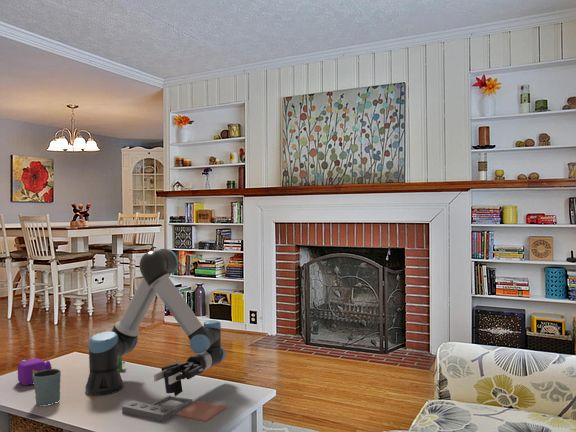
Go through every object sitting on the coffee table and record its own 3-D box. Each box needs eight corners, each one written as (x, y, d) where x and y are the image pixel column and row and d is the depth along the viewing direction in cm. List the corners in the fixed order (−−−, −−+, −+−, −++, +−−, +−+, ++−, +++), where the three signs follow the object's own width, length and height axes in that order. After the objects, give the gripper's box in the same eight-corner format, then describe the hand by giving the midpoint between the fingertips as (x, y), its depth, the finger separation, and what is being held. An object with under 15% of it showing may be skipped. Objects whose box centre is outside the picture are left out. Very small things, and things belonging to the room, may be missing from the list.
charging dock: (122, 412, 185) (121, 405, 185) (157, 395, 202) (157, 388, 202) (163, 422, 176) (163, 414, 176) (196, 402, 193) (196, 395, 193)
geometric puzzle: (110, 363, 241) (109, 352, 236) (125, 361, 243) (124, 351, 238) (110, 375, 235) (109, 365, 231) (125, 373, 237) (124, 363, 233)
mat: (175, 415, 182) (175, 413, 182) (198, 401, 194) (198, 400, 194) (206, 421, 175) (206, 420, 175) (227, 407, 188) (227, 406, 188)
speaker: (187, 391, 191) (184, 365, 191) (175, 396, 187) (172, 369, 187) (174, 389, 196) (171, 363, 196) (162, 394, 191) (159, 367, 191)
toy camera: (56, 378, 226) (56, 356, 226) (27, 387, 214) (26, 365, 214) (43, 374, 232) (42, 353, 232) (13, 383, 220) (13, 361, 220)
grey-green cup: (57, 406, 193) (56, 375, 193) (29, 408, 191) (28, 377, 191) (64, 396, 203) (63, 367, 203) (38, 398, 201) (37, 369, 201)
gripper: (217, 374, 203) (182, 393, 183) (180, 368, 212) (142, 385, 191) (217, 356, 203) (182, 373, 182) (180, 351, 212) (142, 366, 191)
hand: (162, 379), depth 187 cm, fingers closed on speaker, 6 cm apart
